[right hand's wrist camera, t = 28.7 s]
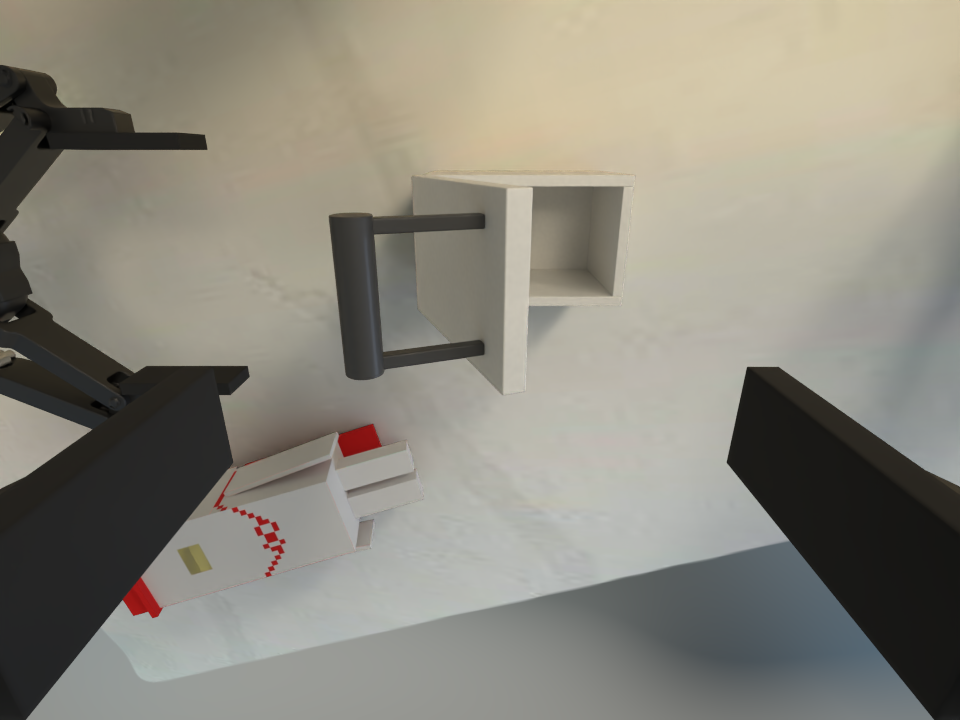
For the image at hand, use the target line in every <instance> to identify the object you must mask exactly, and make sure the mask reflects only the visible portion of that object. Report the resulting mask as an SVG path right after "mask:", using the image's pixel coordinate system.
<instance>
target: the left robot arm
mask: <svg viewBox="0 0 960 720" xmlns="http://www.w3.org/2000/svg"><path fill="white" fill-rule="evenodd" d="M56 92H57V87H56V84H55V82H54V80H53V79H52V78H51V77H50V76H49V75H47V74H45V73H41V72H36V71H31V70H25V69H20V68H15V67H9V66H4V65H0V132H2V131H3V130H4V131H3V133H2V134H1V135H0V347H2V348H12V349H14V350H15V351H17V352H19V353H20V354H22V355H24V356H25V357H27V358H28V359H30V360H27V359H23V358H16V354H15V353H14V352H13V351H11V350H7V351H5V352H4V351H2V350H0V394H2V395H5V396H7V397H10V398H13V399H15V400H18V401H20V402H23V403H26V404H28V405H31V406H34V407H36V408H39V409H41V410H44V411H47V412H49V413H52V414H54V415H57V416H60V417H62V418H65V419H67V420H70V421H73V422H75V423H78V424H80V425H83V426H86V427H88V428H91V429H94V428H96V427H97V426H99V425H100V424H101V423H103V422H104V421H106V420H107V419H108V418H110V417H111V416H113V415H114V414H116V413H117V412H118V411H120V410H121V409H123V408H124V407H126V406H127V405H128V404H130V403H131V402H133V401H134V400H135V399H137V398H138V397H140V396H141V395H143V394H144V393H145V392H147V391H148V390H150V389H151V388H153V387H154V386H155V385H157V384H158V383H160V382H161V381H162V380H164V379H165V378H167V377H168V376H170V375H171V374H172V373H174V372H175V371H177V370H178V369H179V368H181V367H213V370H214V375H215V379H216V384H217V389H218V393H219V395H231V394H232V393H233V392H234V391H235V390H236V389H237V388H238V387H239V386H240V385H241V384H243V383H244V382H245V381H246V380H247V379H248V378H249V377H250V376H249V371H248V366H146V367H144V368H143V369H141V370H140V371H138V372H136V373H133V372H132V371H130V370H129V369H127V368H126V367H124V366H123V365H121V364H119V363H118V362H116V361H115V360H113V359H112V358H110V357H108V356H107V355H105V354H104V353H102V352H101V351H99V350H98V349H96V348H94V347H93V346H91V345H90V344H88V343H87V342H85V341H83V340H82V339H80V338H79V337H77V336H76V335H74V334H73V333H71V332H69V331H68V330H66V329H65V328H63V327H62V326H60V325H58V324H57V323H55V322H54V321H53V320H52V318H53V316H52V314H51V313H50V312H48V311H47V310H45V309H44V308H42V307H40V306H39V305H37V304H36V303H34V302H33V301H31V300H30V299H28V295H29V294H32V291H31V288H30V285H29V282H28V280H27V278H26V276H25V275H24V273H23V271H22V270H21V268H20V258H19V252H18V249H17V246H16V243H15V241H9V239H8V238H7V237H6V236H5V235H4V233H3V232H4V231H5V230H6V229H7V227H8V226H9V225H10V224H11V222H12V221H13V220H14V219H15V218H16V216H17V215H18V213H19V211H18V210H16V208H17V207H18V206H19V204H20V203H21V202H22V201H23V199H24V198H25V197H26V196H27V194H28V193H29V192H30V191H31V190H32V188H33V187H34V186H35V185H36V183H37V182H38V181H39V180H40V178H41V177H42V176H43V175H44V173H45V172H46V171H47V170H48V168H49V167H50V166H51V165H52V163H53V162H54V161H55V160H56V159H57V157H58V156H59V155H60V154H61V152H62V151H63V150H64V149H72V150H207V144H206V139H205V135H200V134H188V133H135V131H134V127H133V122H132V118H131V114H128V113H126V112H123V111H121V110H115V109H107V108H67V107H65V106H64V105H63V104H62V103H61V102H60V101H59V99H58V98H57V96H56ZM14 316H16V317H18V318H19V319H17V320H14V321H11V322H8V321H10V320H11V319H12V318H13V317H14ZM31 360H32V361H31Z"/></svg>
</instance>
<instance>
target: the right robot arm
mask: <svg viewBox="0 0 960 720" xmlns="http://www.w3.org/2000/svg"><path fill="white" fill-rule="evenodd" d="M232 464H233V459H232V455H231V450H230V445H229V440H228V436H227V431H226V426H225V422H224V417H223V412H222V408H221V403H220V398H219V393H218V389H217V384H216V379H215V375H214V370H213V367H181V368H179V369H178V370H177V371H175V372H174V373H172V374H171V375H170V376H168V377H167V378H165V379H164V380H162V381H161V382H160V383H158V384H157V385H155V386H154V387H153V388H151V389H150V390H148V391H147V392H145V393H144V394H143V395H141V396H140V397H138V398H137V399H135V400H134V401H133V402H131V403H130V404H128V405H127V406H126V407H124V408H123V409H121V410H120V411H118V412H117V413H116V414H114V415H113V416H111V417H110V418H108V419H107V420H106V421H104V422H103V423H101V424H100V425H99V426H97V427H96V428H94V429H93V430H91V431H90V432H89V433H87V434H86V435H84V436H83V437H82V438H80V439H79V440H77V441H76V442H74V443H73V444H72V445H70V446H69V447H67V448H66V449H64V450H63V451H62V452H60V453H59V454H57V455H56V456H55V457H53V458H52V459H50V460H49V461H47V462H46V463H45V464H43V465H42V466H40V467H39V468H37V469H36V470H35V471H33V472H32V473H30V474H29V475H28V476H26V477H24V478H22V479H20V480H18V481H16V482H14V483H12V484H10V485H7V486H5V487H3V488H2V489H0V720H26V719H27V717H28V716H29V715H30V714H31V713H32V711H33V710H34V709H35V708H36V706H37V705H38V704H39V703H40V701H41V700H42V699H43V698H44V696H45V695H46V694H47V693H48V691H49V690H50V689H51V688H52V687H53V685H54V684H55V683H56V682H57V680H58V679H59V678H60V677H61V675H62V674H63V673H64V672H65V670H66V669H67V668H68V667H69V666H70V664H71V663H72V662H73V661H74V659H75V658H76V657H77V656H78V654H79V653H80V652H81V651H82V649H83V648H84V647H85V646H86V644H87V643H88V642H89V641H90V639H91V638H92V637H93V636H94V635H95V633H96V632H97V631H98V629H99V628H100V627H101V626H102V625H103V623H104V622H105V621H106V620H107V618H108V617H109V616H110V615H111V613H112V612H113V611H114V610H115V609H116V607H117V606H118V605H119V604H120V602H121V601H122V600H123V599H124V597H125V596H126V595H127V594H128V592H129V591H130V590H131V589H132V587H133V586H134V585H135V584H136V583H137V581H138V580H139V579H140V578H141V576H142V575H143V574H144V573H145V571H146V570H147V569H148V568H149V566H150V565H151V564H152V563H153V561H154V560H155V559H156V558H157V556H158V555H159V554H160V553H161V552H162V550H163V549H164V548H165V547H166V545H167V544H168V543H169V542H170V540H171V539H172V538H173V537H174V535H175V534H176V533H177V532H178V530H179V529H180V528H181V527H182V526H183V524H184V523H185V522H186V521H187V519H188V518H189V517H190V516H191V514H192V513H193V512H194V511H195V509H196V508H197V507H198V506H199V504H200V503H201V502H202V501H203V499H204V498H205V497H206V496H207V495H208V493H209V492H210V491H211V490H212V488H213V487H214V486H215V485H216V483H217V482H218V481H219V480H220V478H221V477H222V476H223V475H224V473H225V472H226V471H227V470H228V469H229V467H230V466H231V465H232ZM727 464H728V465H729V466H730V467H731V469H732V470H733V471H734V472H735V473H736V475H737V476H738V477H739V478H740V480H741V481H742V482H743V483H744V485H745V486H746V487H747V488H748V490H749V491H750V492H751V493H752V495H753V496H754V497H755V498H756V499H757V501H758V502H759V503H760V504H761V506H762V507H763V508H764V509H765V511H766V512H767V513H768V514H769V516H770V517H771V518H772V519H773V521H774V522H775V523H776V524H777V526H778V527H779V528H780V529H781V530H782V532H783V533H784V534H785V535H786V537H787V538H788V539H789V540H790V542H791V543H792V544H793V545H794V547H795V548H796V549H797V550H798V552H799V553H800V554H801V555H802V556H803V558H804V559H805V560H806V561H807V563H808V564H809V565H810V566H811V568H812V569H813V570H814V571H815V573H816V574H817V575H818V576H819V578H820V579H821V580H822V581H823V583H824V584H825V585H826V586H827V587H828V589H829V590H830V591H831V592H832V594H833V595H834V596H835V597H836V599H837V600H838V601H839V602H840V603H841V605H842V606H843V607H844V608H845V610H846V611H847V612H848V613H849V615H850V616H851V617H852V618H853V620H854V621H855V622H856V623H857V625H858V626H859V627H860V628H861V630H862V631H863V632H864V633H865V635H866V636H867V637H868V638H869V639H870V641H871V642H872V643H873V644H874V646H875V647H876V648H877V649H878V651H879V652H880V653H881V654H882V656H883V657H884V658H885V659H886V661H887V662H888V663H889V664H890V666H891V667H892V668H893V669H894V670H895V672H896V673H897V674H898V675H899V677H900V678H901V679H902V680H903V682H904V683H905V684H906V685H907V687H908V688H909V689H910V690H911V691H912V693H913V694H914V695H915V696H916V698H917V699H918V700H919V701H920V703H921V704H922V705H923V706H924V708H925V709H926V710H927V711H928V713H929V714H930V715H931V716H932V718H933V719H934V720H960V487H959V486H957V485H955V484H953V483H951V482H949V481H947V480H945V479H943V478H940V477H938V476H936V475H934V474H932V473H930V472H928V471H926V470H924V469H923V468H921V467H920V466H918V465H917V464H915V463H914V462H913V461H911V460H910V459H908V458H907V457H905V456H904V455H903V454H901V453H900V452H898V451H897V450H896V449H894V448H893V447H891V446H890V445H888V444H887V443H886V442H884V441H883V440H881V439H880V438H878V437H877V436H876V435H874V434H873V433H871V432H870V431H869V430H867V429H866V428H864V427H863V426H861V425H860V424H859V423H857V422H856V421H854V420H853V419H852V418H850V417H849V416H847V415H846V414H844V413H843V412H842V411H840V410H839V409H837V408H836V407H834V406H833V405H832V404H830V403H829V402H827V401H826V400H825V399H823V398H822V397H820V396H819V395H817V394H816V393H815V392H813V391H812V390H810V389H809V388H807V387H806V386H805V385H803V384H802V383H800V382H799V381H798V380H796V379H795V378H793V377H792V376H790V375H789V374H788V373H786V372H785V371H783V370H782V369H781V368H779V367H747V370H746V375H745V379H744V384H743V389H742V393H741V398H740V403H739V408H738V412H737V417H736V422H735V426H734V431H733V436H732V440H731V445H730V450H729V455H728V459H727Z"/></svg>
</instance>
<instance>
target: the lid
mask: <svg viewBox="0 0 960 720" xmlns="http://www.w3.org/2000/svg"><path fill="white" fill-rule="evenodd" d="M411 178H412V199H413V215H408V216H383V217H373V215H372V214H369V213H339V214H332V215H329V223H330V233H331V242H332V251H333V260H334V270H335V279H336V288H337V298H338V307H339V316H340V326H341V335H342V344H343V354H344V363H345V372H346V376H347V377H348V378H350V379H354V380H369V379H374V378H377V377H379V376H381V375H382V374H383V373H384V369H390V368H397V367H404V366H411V365H418V364H425V363H432V362H439V361H446V360H453V359H461V358H466V359H467V360H468V361H469V362H470V363H471V364H472V365H473V366H474V367H475V368H476V369H477V370H478V371H479V372H480V373H481V374H482V375H483V376H484V377H485V378H486V379H487V380H488V381H489V382H490V383H491V384H492V385H493V386H494V387H495V388H496V389H497V390H498V391H499V392H500V393H501V394H502V395H509V394H514V393H520V392H525V386H526V360H527V333H528V306H529V279H530V252H531V226H532V199H533V188H532V187H526V186H517V185H509V184H500V183H491V182H483V181H474V180H465V179H456V178H448V177H439V176H430V175H412V177H411ZM413 232H414V242H415V263H416V284H417V305H418V310H419V311H420V312H421V313H422V314H423V315H424V316H425V317H426V318H427V319H428V320H429V321H430V322H431V323H432V324H433V325H434V326H435V327H436V328H437V329H438V330H439V331H440V332H441V333H442V334H443V335H444V336H445V337H446V338H447V339H448V340H449V341H450V342H451V343H450V344H442V345H435V346H427V347H419V348H411V349H404V350H396V351H388V352H383V346H382V333H381V320H380V307H379V294H378V280H377V267H376V254H375V241H374V234H393V233H413Z"/></svg>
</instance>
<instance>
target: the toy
mask: <svg viewBox="0 0 960 720" xmlns="http://www.w3.org/2000/svg"><path fill="white" fill-rule="evenodd" d="M419 500H423V487H422V484H421V481H420V478H419V475H418V472H417V469H416V468H414V460H413V458H412V455H411V452H410V449H409V446H408V443H407V440H404V441H400V442H397V443H393V444H390V445H386V446H383V447H382V446H381V443H380V441H379V438H378V436H377V433H376V430H375V428H374V425H373V424H371V425H368V426H365V427H361V428H358V429H355V430H352V431H349V432H346V433H342V434H338V433H337V432H334V433H332V434H329V435H326V436H324V437H321V438H318V439H316V440H313V441H310V442H308V443H305V444H302V445H300V446H297V447H294V448H292V449H289V450H286V451H283V452H281V453H278V454H275V455H273V456H270V457H267V458H264V459H260V460H257V461H254V462H251V463H248V464H245V466H243V467H241V468H238V466H237V467H233V468H230V469H228V470H227V471H226V472H225V473H224V475H223V476H222V477H221V478H220V480H219V481H218V482H217V483H216V485H215V486H214V487H213V488H212V490H211V491H210V492H209V493H208V495H207V496H206V497H205V498H204V499H203V501H202V502H201V503H200V504H199V506H198V507H197V508H196V509H195V511H194V512H193V513H192V514H191V516H190V517H189V518H188V519H187V521H186V522H185V523H184V524H183V526H182V527H181V528H180V529H179V530H178V532H177V533H176V534H175V535H174V537H173V538H172V539H171V540H170V542H169V543H168V544H167V545H166V547H165V548H164V549H163V550H162V552H161V553H160V554H159V555H158V556H157V558H156V559H155V560H154V561H153V563H152V564H151V565H150V566H149V568H148V569H147V570H146V571H145V573H144V574H143V575H142V576H141V578H140V579H139V580H138V581H137V583H136V584H135V585H134V586H133V587H132V589H131V590H130V591H129V592H128V594H127V595H126V596H125V597H124V599H123V601H124V602H125V604H126V605H127V607H128V608H129V610H130V611H131V613H132V614H133V616H135V615H138V614H142V613H145V612H149V614H150V615H151V617H152V618H155V617H158V616H159V614H160V612H161V610H162V608H163V607H166V606H169V605H173V604H176V603H179V602H183V601H186V600H190V599H193V598H197V597H200V596H203V595H207V594H210V593H214V592H217V591H221V590H224V589H227V588H231V587H234V586H238V585H241V584H245V583H248V582H251V581H255V580H258V579H262V578H265V577H269V576H272V575H275V574H279V573H282V572H286V571H289V570H293V569H296V568H299V567H303V566H306V565H310V564H313V563H317V562H320V561H323V560H327V559H330V558H334V557H337V556H341V555H344V554H348V553H353V552H358V551H363V550H368V549H371V547H372V540H373V533H374V526H375V522H374V519H373V520H368V521H363V522H360V517H364V516H367V515H371V514H374V513H378V512H381V511H385V510H388V509H392V508H395V507H398V506H402V505H405V504H409V503H412V502H416V501H419Z"/></svg>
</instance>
